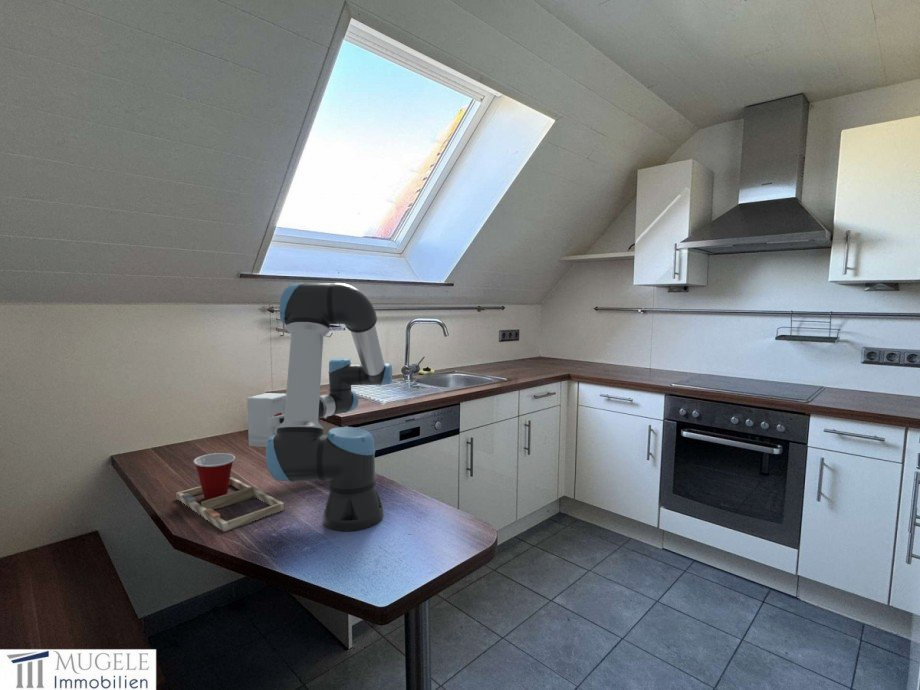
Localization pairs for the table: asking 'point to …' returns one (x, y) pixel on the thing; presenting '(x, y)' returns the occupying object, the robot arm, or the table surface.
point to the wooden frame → (243, 494)
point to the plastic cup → (214, 473)
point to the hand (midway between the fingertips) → (257, 420)
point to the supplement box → (263, 416)
